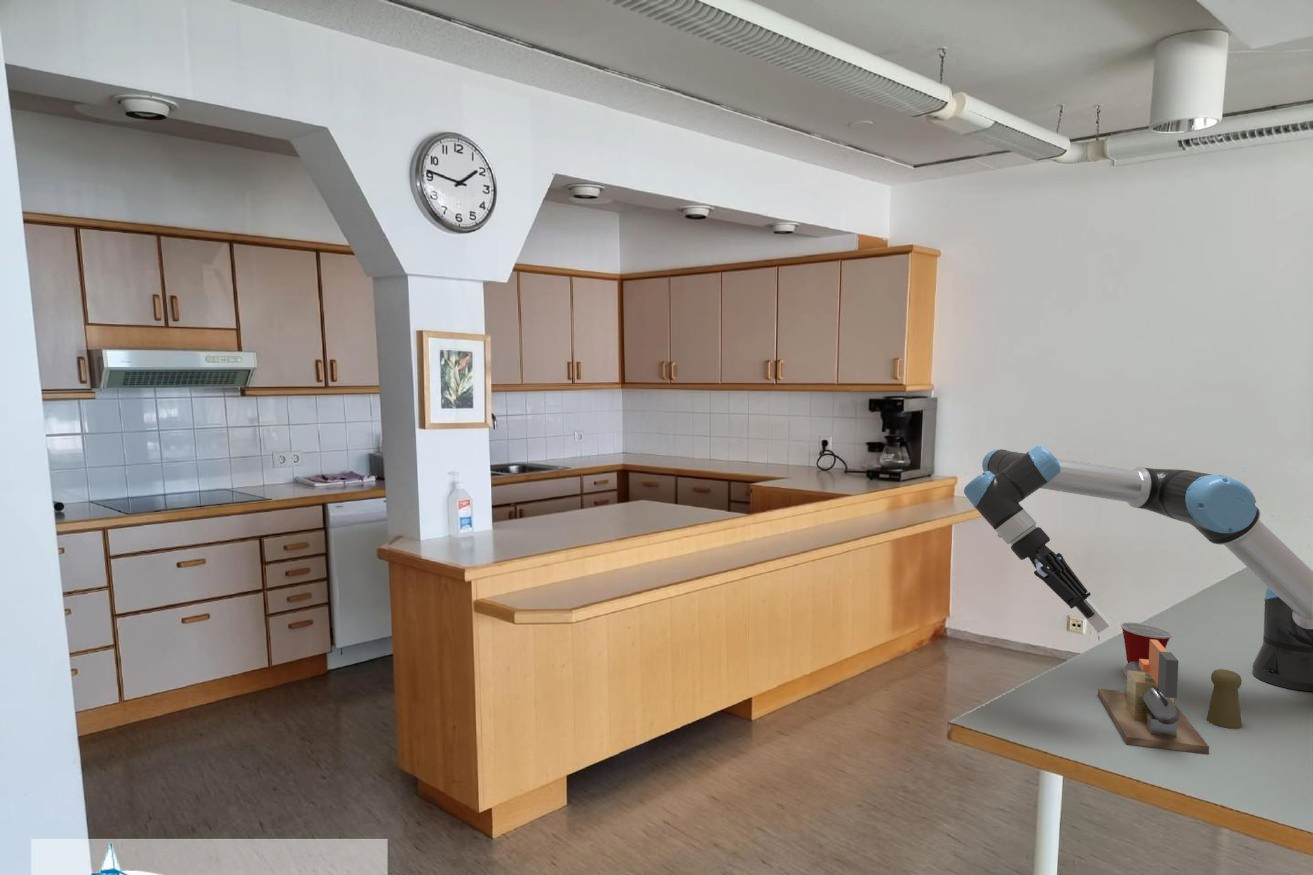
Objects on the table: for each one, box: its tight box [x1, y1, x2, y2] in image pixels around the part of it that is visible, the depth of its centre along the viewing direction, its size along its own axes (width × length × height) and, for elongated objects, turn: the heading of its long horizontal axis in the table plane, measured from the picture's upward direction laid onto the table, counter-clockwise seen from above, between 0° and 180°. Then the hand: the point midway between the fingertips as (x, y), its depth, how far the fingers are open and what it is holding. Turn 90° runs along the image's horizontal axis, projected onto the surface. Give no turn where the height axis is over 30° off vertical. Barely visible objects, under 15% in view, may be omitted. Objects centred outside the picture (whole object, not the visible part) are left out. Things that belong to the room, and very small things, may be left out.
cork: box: [1206, 668, 1243, 730], centre depth 169 cm, size 6×6×11 cm
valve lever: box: [1139, 639, 1179, 699], centre depth 163 cm, size 16×4×8 cm, turn 162°
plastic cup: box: [1120, 621, 1173, 664], centre depth 196 cm, size 11×11×12 cm
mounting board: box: [1097, 688, 1210, 755], centre depth 170 cm, size 14×26×2 cm, turn 162°
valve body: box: [1123, 662, 1180, 738], centre depth 170 cm, size 7×24×8 cm, turn 162°
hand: (1104, 628), depth 165 cm, fingers closed
